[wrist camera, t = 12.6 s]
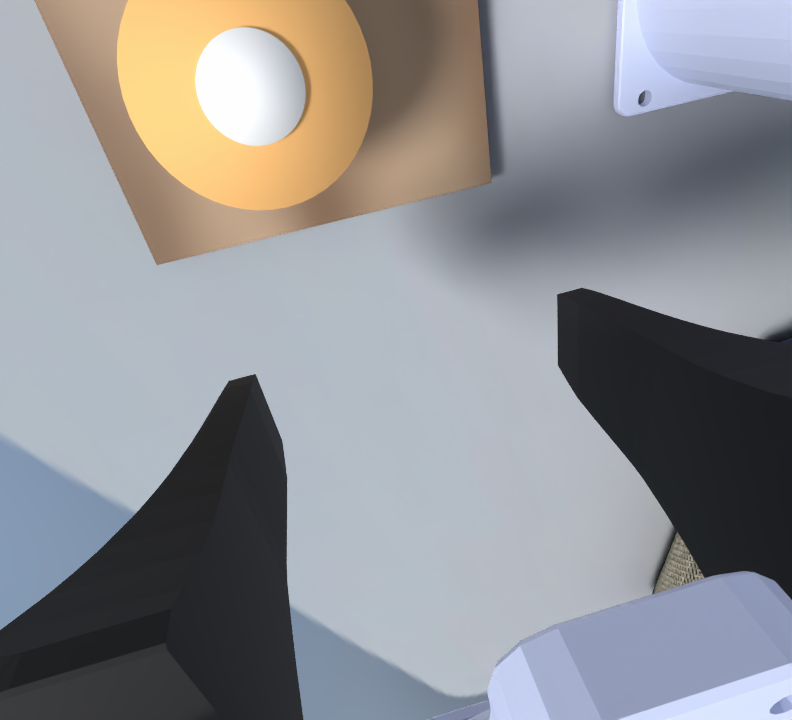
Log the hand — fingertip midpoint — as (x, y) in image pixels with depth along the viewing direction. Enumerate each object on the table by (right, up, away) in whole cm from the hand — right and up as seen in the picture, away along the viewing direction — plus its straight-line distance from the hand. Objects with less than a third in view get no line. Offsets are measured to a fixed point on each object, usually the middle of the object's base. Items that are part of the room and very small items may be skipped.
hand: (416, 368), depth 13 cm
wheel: (-5, +9, +3) cm, 10 cm away
